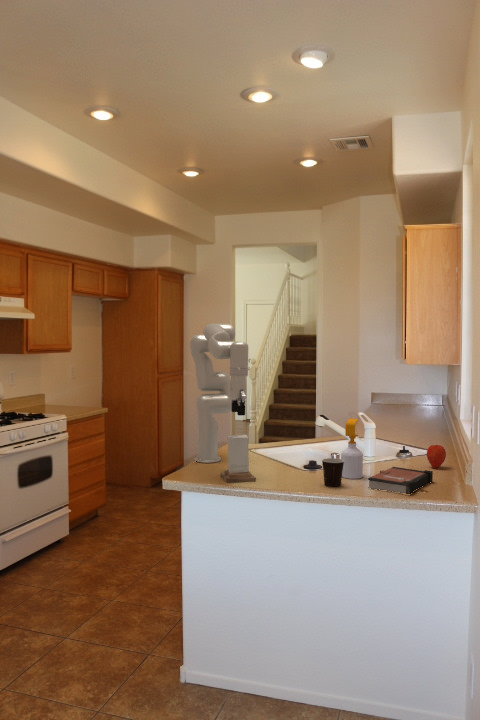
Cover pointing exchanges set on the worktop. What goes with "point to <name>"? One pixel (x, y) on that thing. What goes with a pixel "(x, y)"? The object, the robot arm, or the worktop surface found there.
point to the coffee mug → (332, 472)
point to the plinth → (237, 477)
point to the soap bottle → (352, 454)
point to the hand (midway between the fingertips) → (238, 413)
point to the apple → (436, 455)
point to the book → (400, 480)
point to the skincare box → (238, 454)
